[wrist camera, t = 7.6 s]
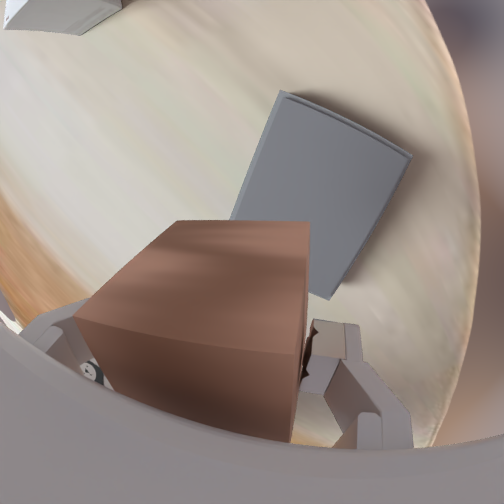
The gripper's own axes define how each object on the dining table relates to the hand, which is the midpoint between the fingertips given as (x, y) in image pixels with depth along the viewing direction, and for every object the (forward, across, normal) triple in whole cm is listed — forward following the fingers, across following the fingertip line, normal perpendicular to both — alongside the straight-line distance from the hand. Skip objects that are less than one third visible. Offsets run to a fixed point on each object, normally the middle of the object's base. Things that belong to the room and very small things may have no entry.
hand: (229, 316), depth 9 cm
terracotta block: (+2, 0, 0) cm, 2 cm away
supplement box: (+20, +24, -22) cm, 38 cm away
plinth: (+20, -2, +1) cm, 20 cm away
